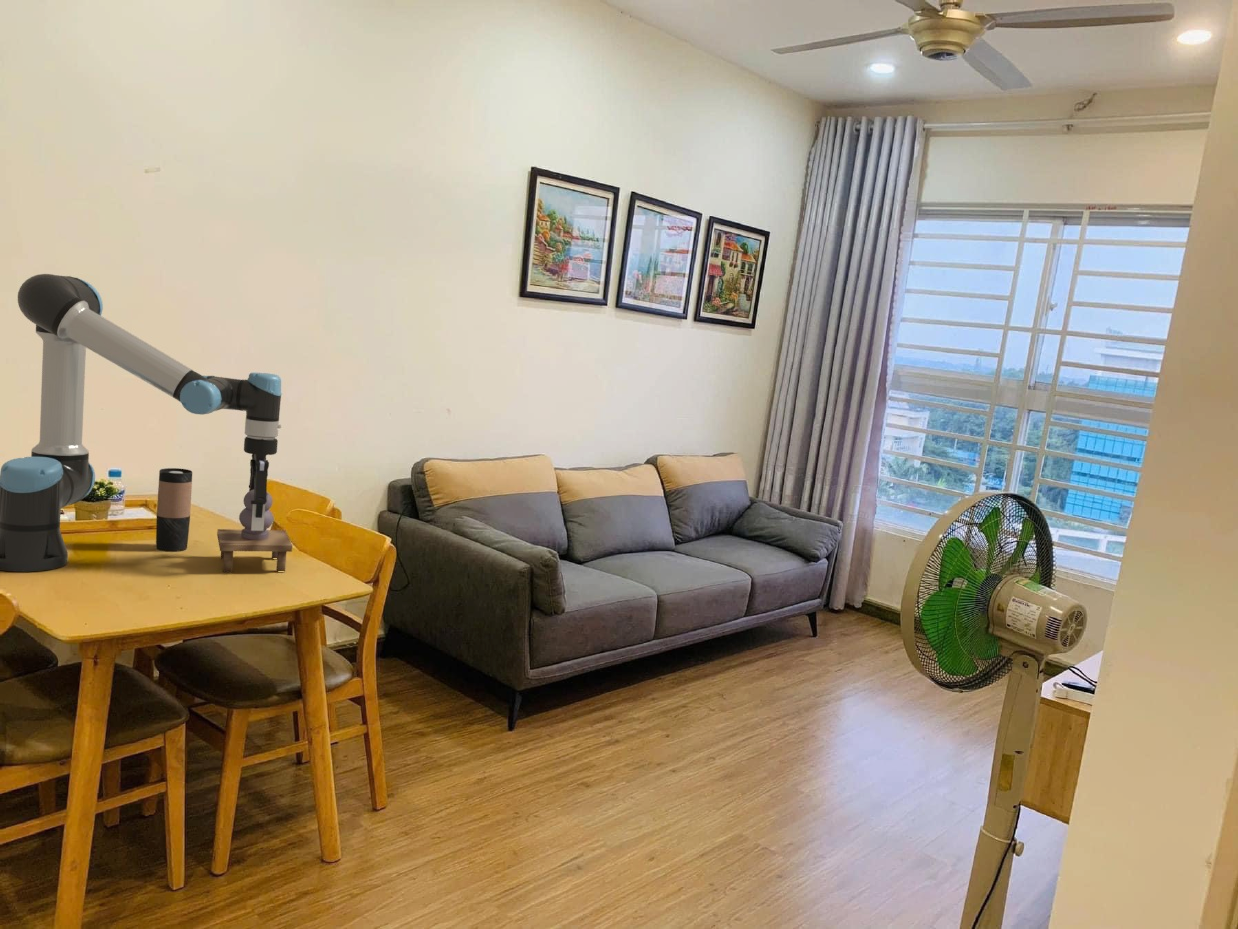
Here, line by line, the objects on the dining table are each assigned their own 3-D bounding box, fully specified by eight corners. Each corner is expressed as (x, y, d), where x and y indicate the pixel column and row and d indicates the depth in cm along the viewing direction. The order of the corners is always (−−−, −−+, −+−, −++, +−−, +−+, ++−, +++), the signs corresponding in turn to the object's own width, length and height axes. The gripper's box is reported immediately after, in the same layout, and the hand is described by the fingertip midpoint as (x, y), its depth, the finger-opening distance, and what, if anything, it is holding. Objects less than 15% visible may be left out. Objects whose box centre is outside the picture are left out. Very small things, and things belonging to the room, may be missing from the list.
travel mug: (194, 547, 235) (199, 470, 232) (177, 553, 227) (181, 474, 224) (166, 543, 235) (170, 467, 233) (148, 549, 228) (152, 470, 225)
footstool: (218, 573, 214) (220, 544, 213) (215, 556, 228) (217, 529, 228) (290, 573, 221) (292, 545, 221) (283, 556, 236) (285, 530, 235)
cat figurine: (233, 531, 225) (238, 484, 223) (265, 531, 230) (271, 485, 228) (242, 541, 218) (247, 493, 217) (275, 541, 223) (281, 493, 222)
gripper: (282, 445, 212) (276, 536, 215) (273, 431, 233) (267, 514, 236) (248, 443, 209) (242, 535, 211) (241, 429, 230) (235, 513, 233)
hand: (255, 524), depth 224 cm, fingers open, 11 cm apart
